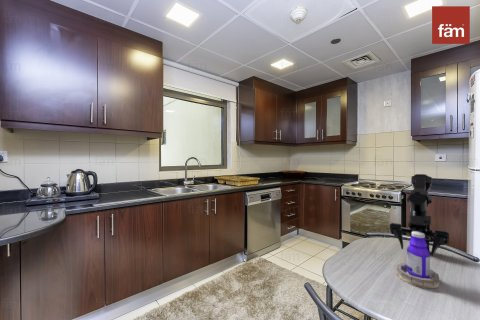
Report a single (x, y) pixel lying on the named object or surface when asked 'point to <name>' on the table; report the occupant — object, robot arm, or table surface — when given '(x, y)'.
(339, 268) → the table surface
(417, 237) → the bottle
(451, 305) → the table surface
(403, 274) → the collar base
